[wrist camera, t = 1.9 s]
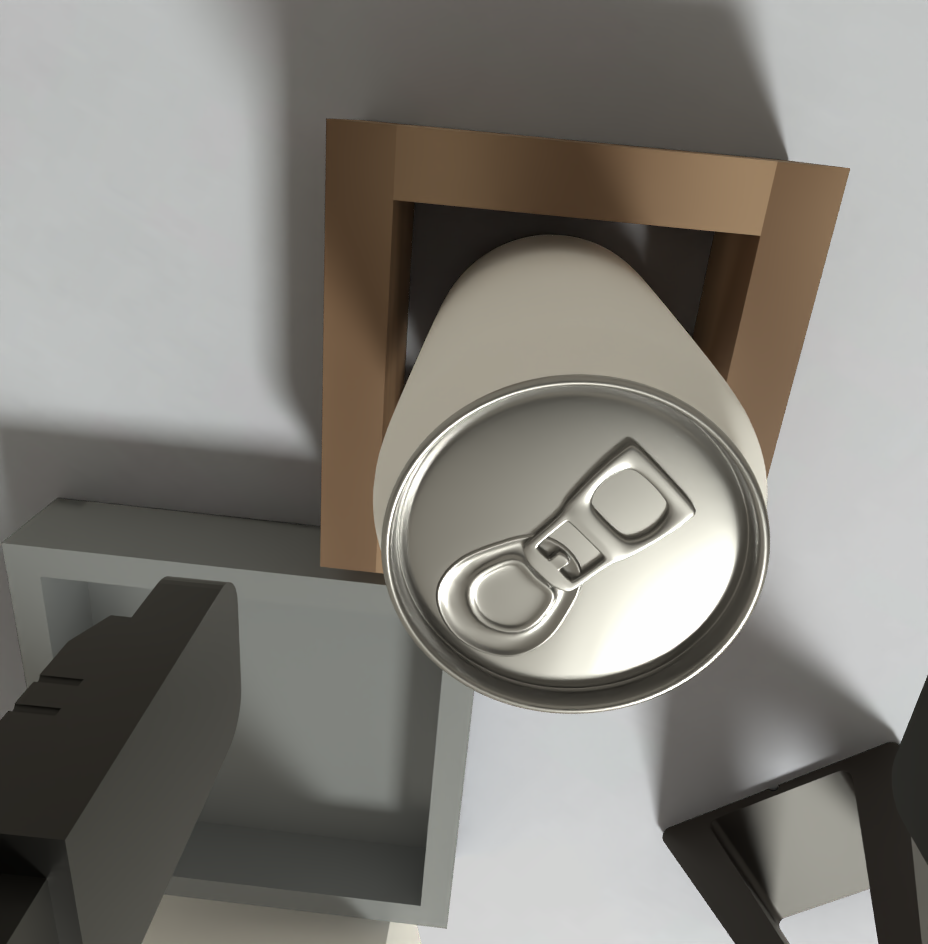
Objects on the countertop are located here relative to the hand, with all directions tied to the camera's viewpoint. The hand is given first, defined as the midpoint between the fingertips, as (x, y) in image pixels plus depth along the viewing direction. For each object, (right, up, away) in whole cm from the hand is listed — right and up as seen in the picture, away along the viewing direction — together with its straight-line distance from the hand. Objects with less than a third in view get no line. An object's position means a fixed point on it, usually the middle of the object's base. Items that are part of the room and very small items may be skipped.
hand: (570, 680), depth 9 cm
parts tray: (-8, -5, +19) cm, 21 cm away
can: (+1, +6, +13) cm, 15 cm away
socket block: (+1, +6, +13) cm, 15 cm away
